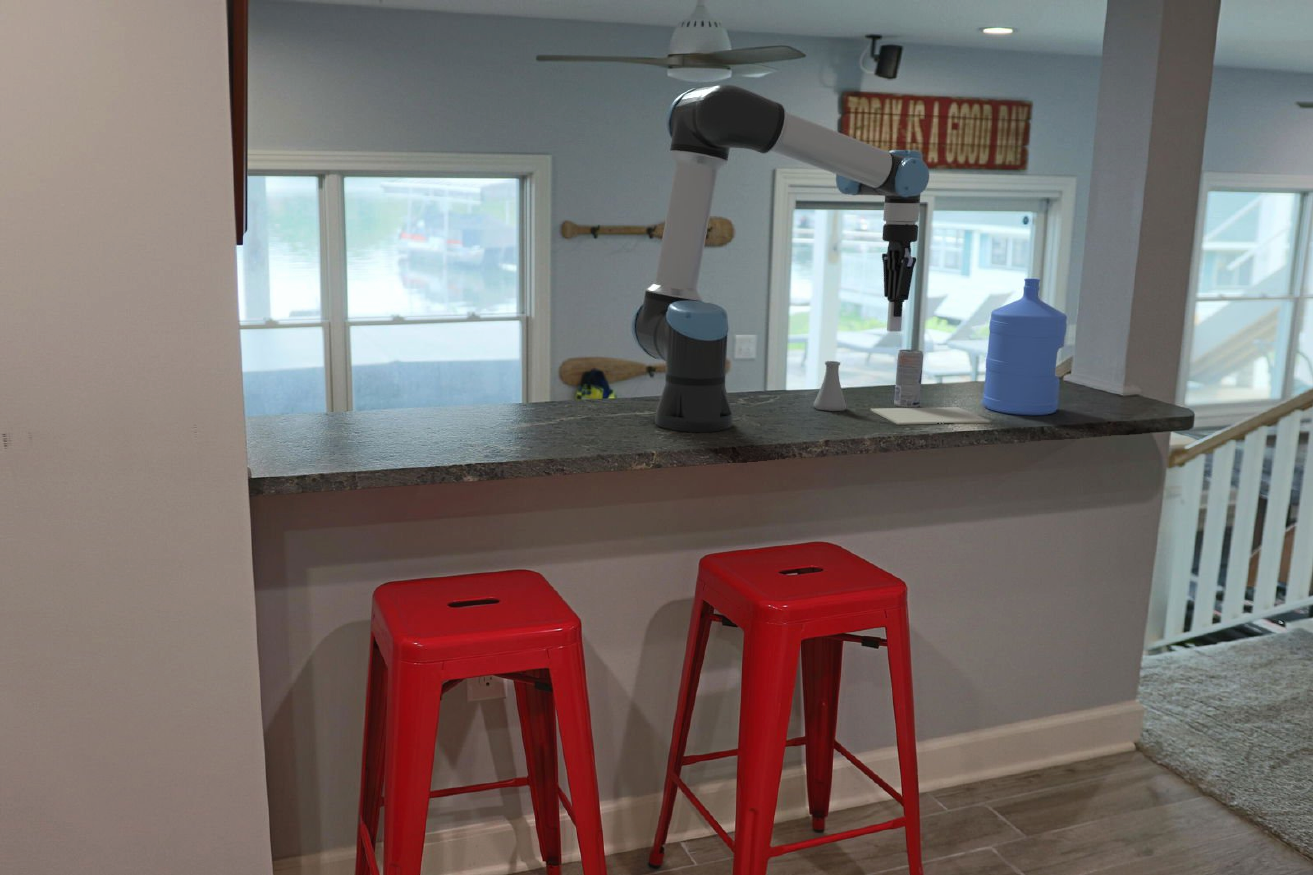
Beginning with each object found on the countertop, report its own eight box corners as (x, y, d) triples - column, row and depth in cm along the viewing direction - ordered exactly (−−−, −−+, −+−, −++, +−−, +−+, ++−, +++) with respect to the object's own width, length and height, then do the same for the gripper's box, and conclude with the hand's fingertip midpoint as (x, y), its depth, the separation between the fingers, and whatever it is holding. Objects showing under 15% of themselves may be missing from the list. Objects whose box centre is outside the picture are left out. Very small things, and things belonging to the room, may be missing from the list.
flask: (845, 406, 238) (848, 360, 236) (848, 412, 231) (851, 365, 229) (812, 404, 239) (814, 358, 237) (813, 411, 232) (816, 364, 230)
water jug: (1013, 418, 230) (1027, 283, 224) (966, 403, 244) (978, 276, 238) (1073, 414, 236) (1088, 282, 229) (1024, 400, 250) (1037, 275, 244)
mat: (898, 424, 221) (898, 422, 220) (870, 410, 234) (870, 408, 234) (989, 422, 225) (989, 420, 225) (957, 408, 238) (957, 407, 238)
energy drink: (918, 404, 242) (922, 350, 239) (919, 409, 237) (924, 353, 234) (893, 403, 243) (897, 348, 240) (894, 407, 238) (898, 352, 235)
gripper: (930, 224, 235) (922, 334, 241) (904, 221, 248) (897, 326, 253) (897, 224, 234) (890, 335, 239) (872, 221, 246) (866, 327, 251)
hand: (893, 330), depth 246 cm, fingers closed
